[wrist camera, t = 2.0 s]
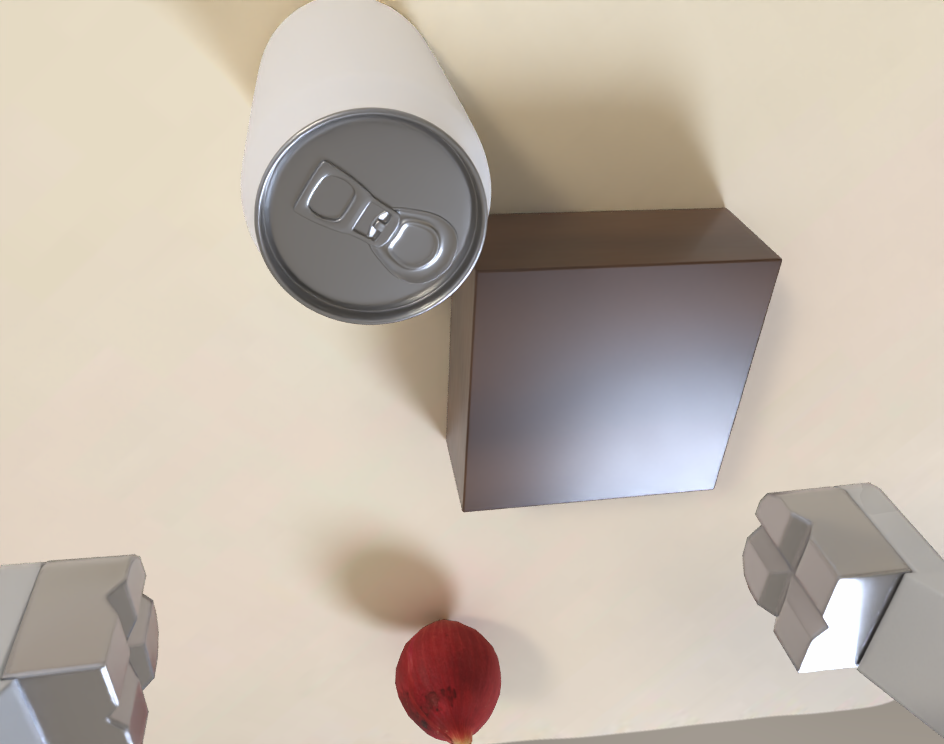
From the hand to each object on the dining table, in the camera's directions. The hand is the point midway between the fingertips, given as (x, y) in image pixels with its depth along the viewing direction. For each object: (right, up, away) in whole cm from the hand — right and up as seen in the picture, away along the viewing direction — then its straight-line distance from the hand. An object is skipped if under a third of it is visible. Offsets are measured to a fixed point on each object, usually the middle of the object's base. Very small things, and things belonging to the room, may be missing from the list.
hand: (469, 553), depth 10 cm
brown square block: (+5, +4, +26) cm, 27 cm away
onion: (-2, -12, +37) cm, 39 cm away
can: (-4, +13, +18) cm, 23 cm away
